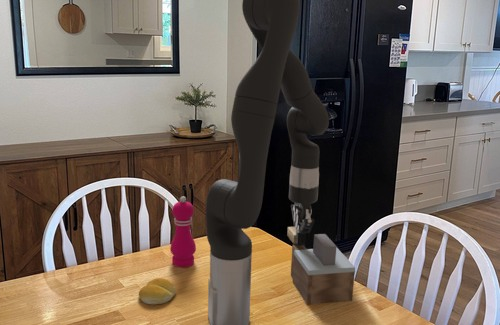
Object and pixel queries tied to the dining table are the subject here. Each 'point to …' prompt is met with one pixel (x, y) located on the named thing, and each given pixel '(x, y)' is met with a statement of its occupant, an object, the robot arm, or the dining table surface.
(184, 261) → the pepper mill
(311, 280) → the toolbox
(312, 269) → the lid
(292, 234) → the wooden key
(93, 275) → the dining table surface
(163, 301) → the bread roll
